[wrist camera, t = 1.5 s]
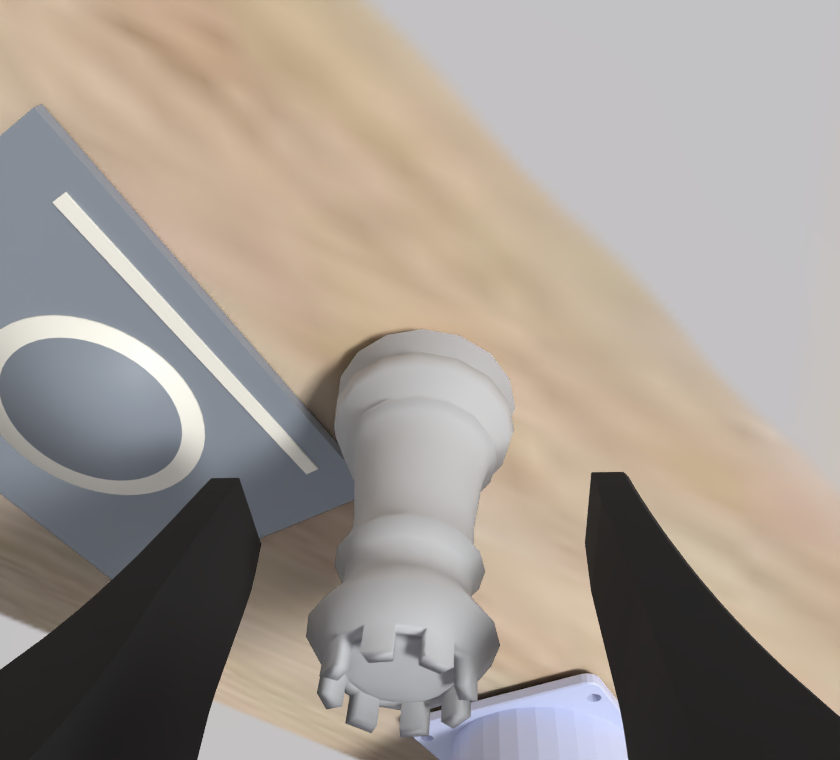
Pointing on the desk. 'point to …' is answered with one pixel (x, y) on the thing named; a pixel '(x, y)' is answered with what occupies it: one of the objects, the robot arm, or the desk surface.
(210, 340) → the grey base plate
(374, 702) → the rook chess piece
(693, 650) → the robot arm
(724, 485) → the desk surface
